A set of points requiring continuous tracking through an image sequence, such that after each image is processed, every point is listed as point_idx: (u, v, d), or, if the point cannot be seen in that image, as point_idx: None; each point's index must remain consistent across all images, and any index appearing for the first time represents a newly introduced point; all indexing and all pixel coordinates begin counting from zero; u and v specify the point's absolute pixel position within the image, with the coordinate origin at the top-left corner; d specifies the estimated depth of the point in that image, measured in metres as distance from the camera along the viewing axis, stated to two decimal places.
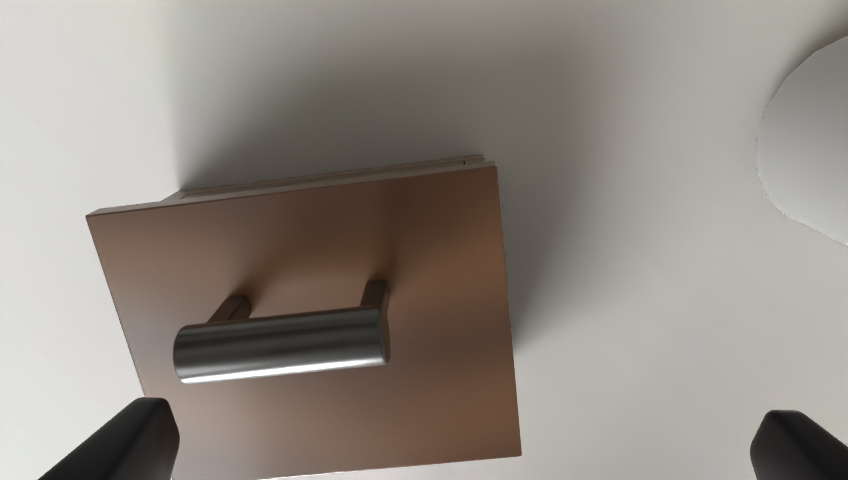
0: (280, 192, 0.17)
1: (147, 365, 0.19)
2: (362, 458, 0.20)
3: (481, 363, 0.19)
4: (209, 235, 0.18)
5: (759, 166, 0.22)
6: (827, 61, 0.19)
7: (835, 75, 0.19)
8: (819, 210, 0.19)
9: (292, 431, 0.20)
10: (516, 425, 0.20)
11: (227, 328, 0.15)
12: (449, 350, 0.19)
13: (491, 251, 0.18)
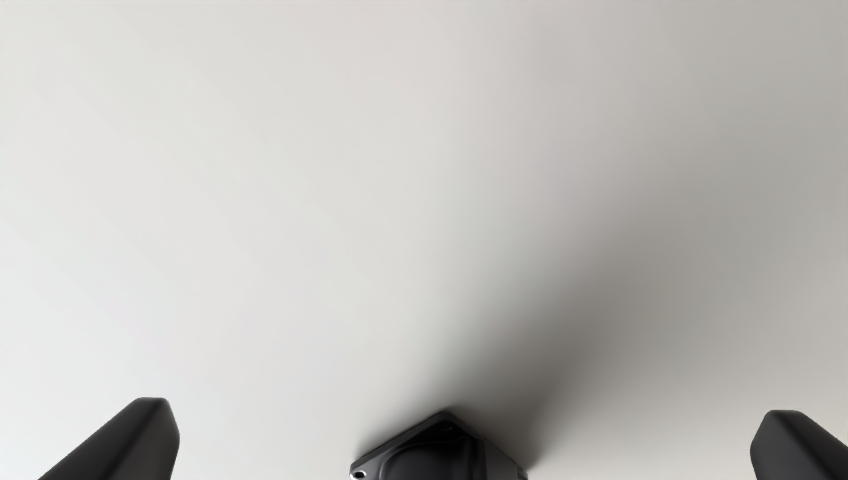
0: None
1: None
2: None
3: None
4: None
5: None
6: None
7: None
8: None
9: None
10: None
11: None
12: None
13: None
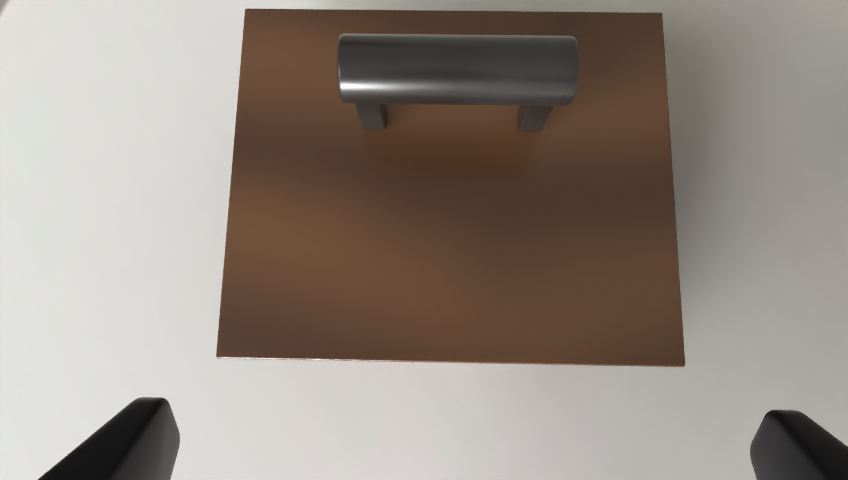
0: None
1: (246, 177, 0.16)
2: (476, 342, 0.15)
3: (638, 223, 0.16)
4: None
5: None
6: None
7: None
8: None
9: (393, 289, 0.16)
10: (678, 317, 0.16)
11: None
12: (601, 202, 0.16)
13: (654, 94, 0.17)
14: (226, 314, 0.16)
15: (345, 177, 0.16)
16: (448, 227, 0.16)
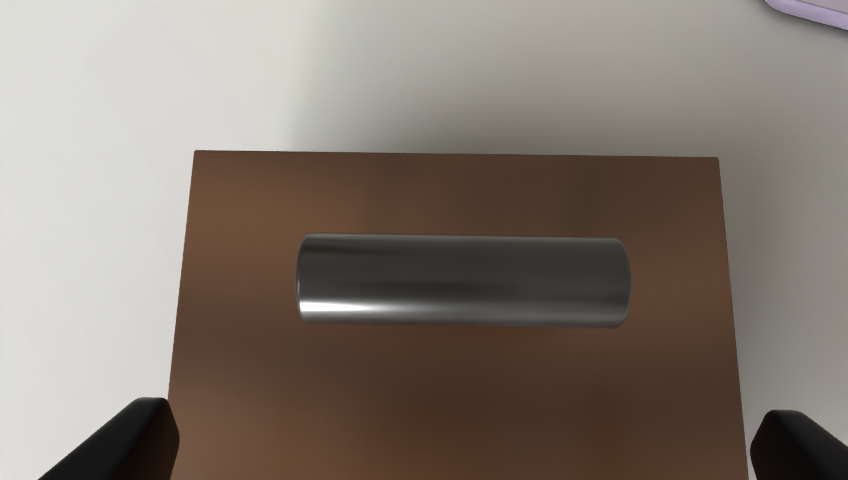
0: None
1: (189, 376, 0.13)
2: None
3: (696, 443, 0.12)
4: (343, 195, 0.14)
5: None
6: None
7: None
8: None
9: None
10: None
11: (385, 234, 0.10)
12: (648, 413, 0.12)
13: (712, 265, 0.13)
14: None
15: (316, 376, 0.13)
16: (449, 447, 0.12)
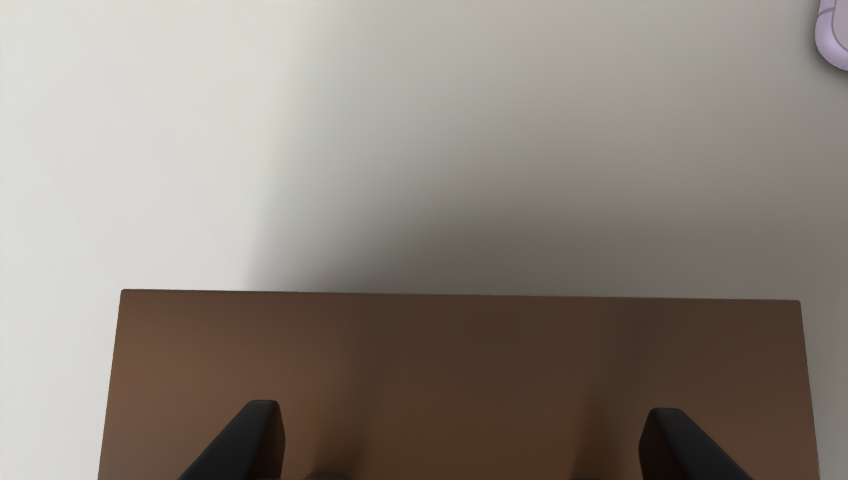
0: (447, 294, 0.11)
1: None
2: None
3: None
4: (312, 351, 0.10)
5: None
6: None
7: None
8: None
9: None
10: None
11: None
12: None
13: (796, 451, 0.10)
14: None
15: None
16: None
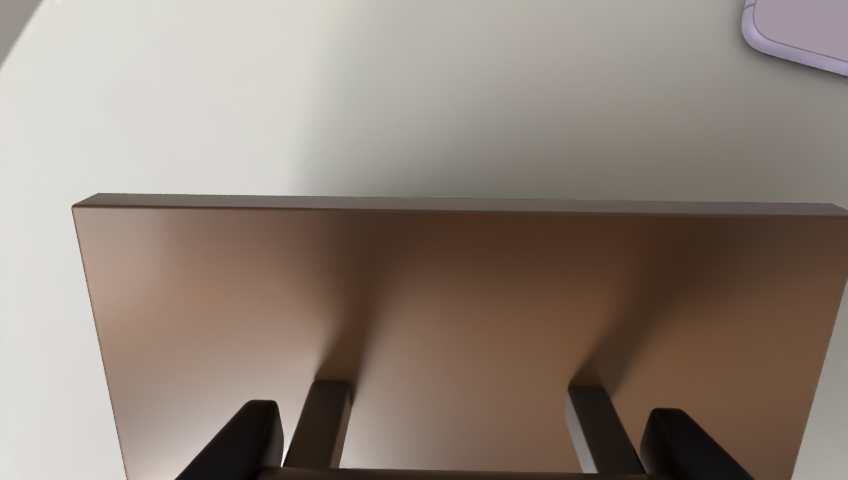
0: (451, 210, 0.09)
1: (147, 474, 0.11)
2: None
3: None
4: (302, 272, 0.09)
5: None
6: None
7: None
8: None
9: None
10: None
11: None
12: None
13: (802, 363, 0.10)
14: None
15: None
16: None
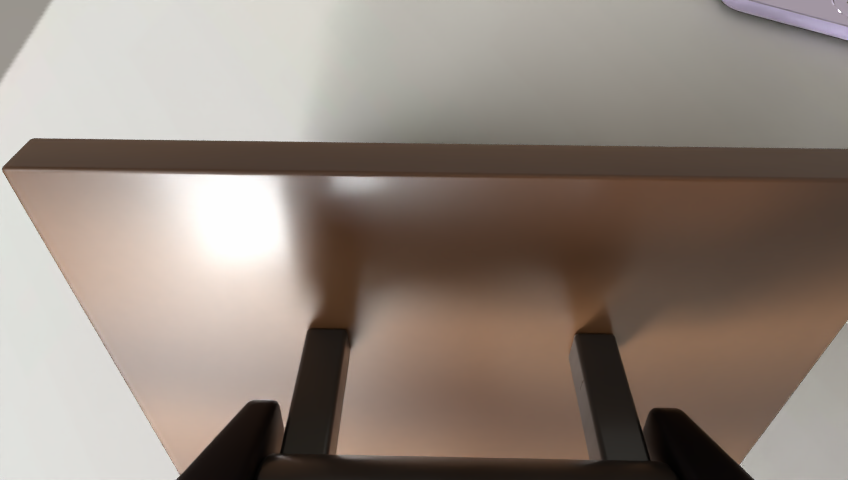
0: (456, 173, 0.08)
1: (155, 395, 0.11)
2: None
3: None
4: (286, 235, 0.08)
5: None
6: None
7: None
8: None
9: None
10: None
11: None
12: None
13: (828, 315, 0.09)
14: None
15: None
16: (450, 439, 0.12)
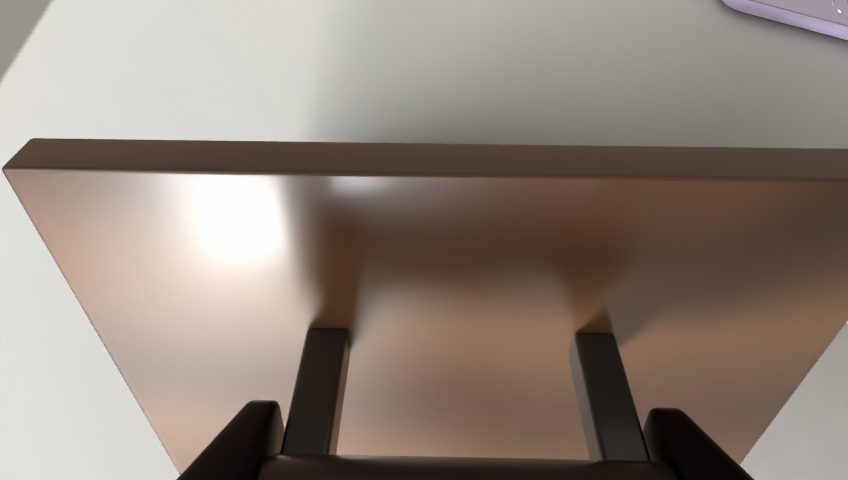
0: (455, 173, 0.08)
1: (155, 395, 0.11)
2: None
3: None
4: (286, 234, 0.08)
5: None
6: None
7: None
8: None
9: None
10: None
11: None
12: None
13: (829, 315, 0.09)
14: None
15: None
16: (450, 439, 0.12)
